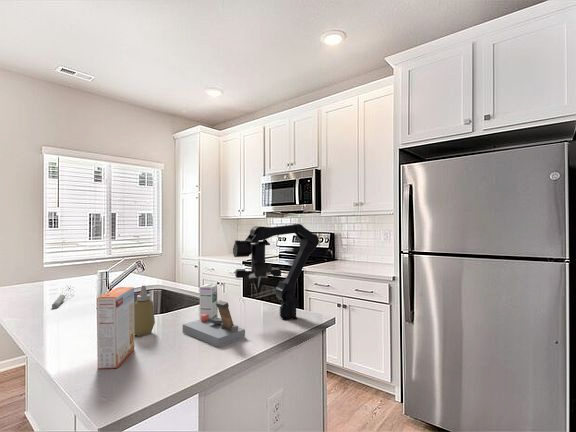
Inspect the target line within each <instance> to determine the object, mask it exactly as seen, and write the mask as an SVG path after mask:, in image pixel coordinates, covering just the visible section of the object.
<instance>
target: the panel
mask: <svg viewBox="0 0 576 432" xmlns="http://www.w3.org/2000/svg"><path fill="white" fill-rule="evenodd" d="M209 319H213V318H210V317H209ZM182 333H184V334H186V335H188V336H190V337H194V338H196V339H198V340H200V341H202V342H205V343H207V344H210V345H211V346H215V347H216V348H220V347H223V346H226V345H228V344H231V343H234V342H237V341H240V340H243V339H245V338H246V329H245V328H242V327H239V325H234V326H233V327H231V330H229V329H226V328H224V326H223V323H221V324H213V323H210V322H201V319H200V318H199V319H197V320H194V321H190V322H187V323H182Z"/></svg>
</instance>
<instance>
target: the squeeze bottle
mask: <svg viewBox="0 0 576 432" xmlns="http://www.w3.org/2000/svg"><path fill="white" fill-rule="evenodd" d="M155 320H156V319H155V310H154V301H153V300H152V299H151V294H149V293H148V291H147V286H146V285H145V284H143V285H141V289H140V293H139V294H138V295H137V296H136V301H134V336H139V337H141V336H143V337H144V336H149V335H150V334H152V332H153V329H154V326H155V324H156V321H155Z"/></svg>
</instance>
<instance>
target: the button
mask: <svg viewBox="0 0 576 432" xmlns="http://www.w3.org/2000/svg"><path fill="white" fill-rule="evenodd" d="M208 319H209V314H202V315H201V322H208Z"/></svg>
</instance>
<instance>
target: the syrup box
mask: <svg viewBox="0 0 576 432" xmlns="http://www.w3.org/2000/svg"><path fill="white" fill-rule="evenodd" d="M217 302H218V284H215V283H214V284H213V283H206V284H204V285H202V286H199V320H200V319H201V315H202V314H209V317H210V318H213V319H218V315H219V314H218V307H217V306H216V303H217Z"/></svg>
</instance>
